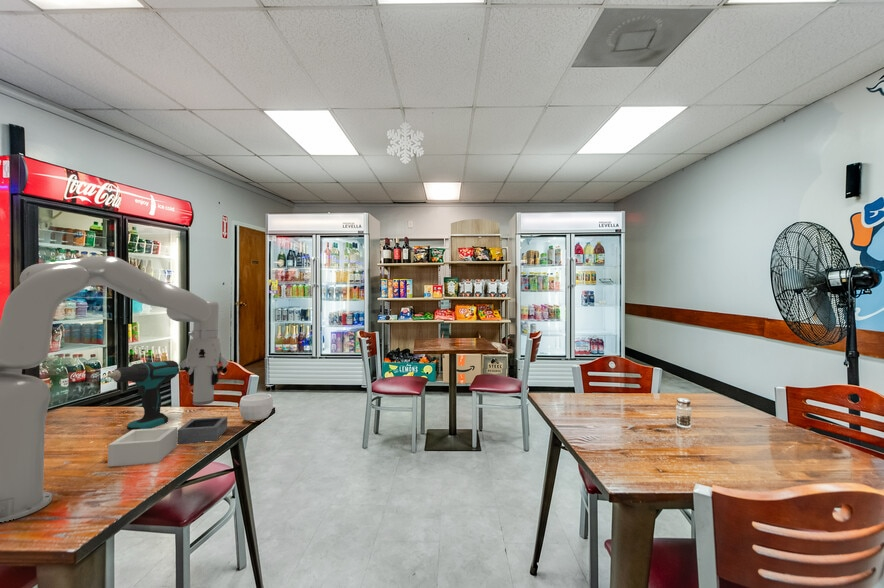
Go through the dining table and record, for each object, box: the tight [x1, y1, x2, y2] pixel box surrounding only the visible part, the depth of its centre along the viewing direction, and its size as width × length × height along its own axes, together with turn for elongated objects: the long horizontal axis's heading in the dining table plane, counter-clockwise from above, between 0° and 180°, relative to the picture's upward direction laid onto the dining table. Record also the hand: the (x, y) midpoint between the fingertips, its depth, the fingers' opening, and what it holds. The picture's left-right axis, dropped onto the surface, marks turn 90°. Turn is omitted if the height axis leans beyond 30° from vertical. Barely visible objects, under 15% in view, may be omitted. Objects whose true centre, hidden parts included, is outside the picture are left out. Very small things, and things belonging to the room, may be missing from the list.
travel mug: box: [192, 349, 215, 406], centre depth 135 cm, size 6×7×20 cm
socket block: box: [177, 416, 228, 445], centre depth 135 cm, size 12×12×5 cm
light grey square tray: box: [107, 426, 179, 468], centre depth 119 cm, size 13×13×6 cm
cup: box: [239, 392, 274, 422], centre depth 154 cm, size 12×12×10 cm
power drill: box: [106, 360, 180, 430], centre depth 144 cm, size 26×9×25 cm, turn 168°
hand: (203, 384), depth 135 cm, fingers closed on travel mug, 6 cm apart
